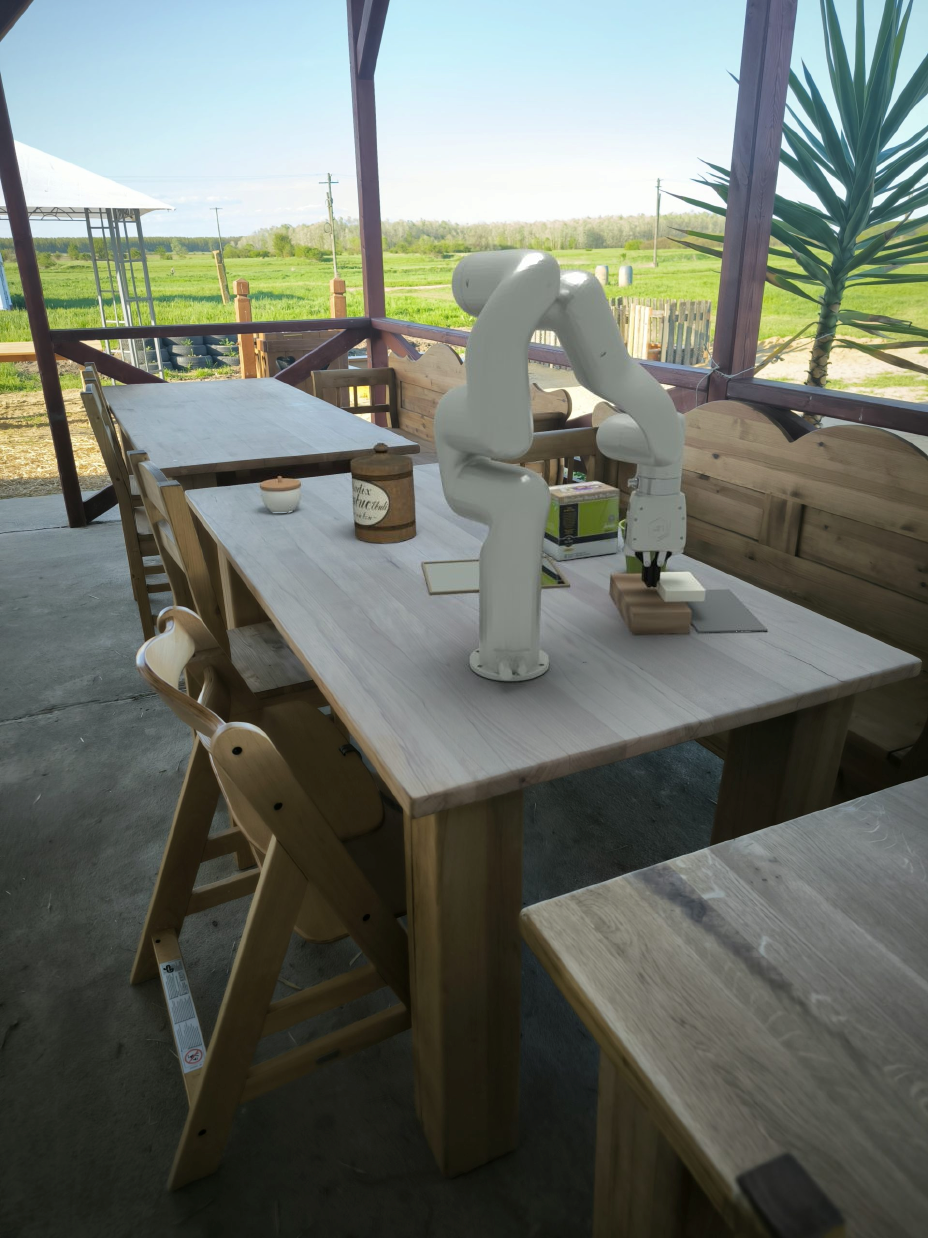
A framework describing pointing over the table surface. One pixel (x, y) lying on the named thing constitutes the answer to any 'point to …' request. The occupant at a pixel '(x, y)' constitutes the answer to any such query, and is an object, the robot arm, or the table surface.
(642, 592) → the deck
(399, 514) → the wooden container
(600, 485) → the tea box
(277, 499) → the lidded jar
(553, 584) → the picture frame
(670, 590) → the cream white slab
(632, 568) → the plant pot
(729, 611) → the mat
